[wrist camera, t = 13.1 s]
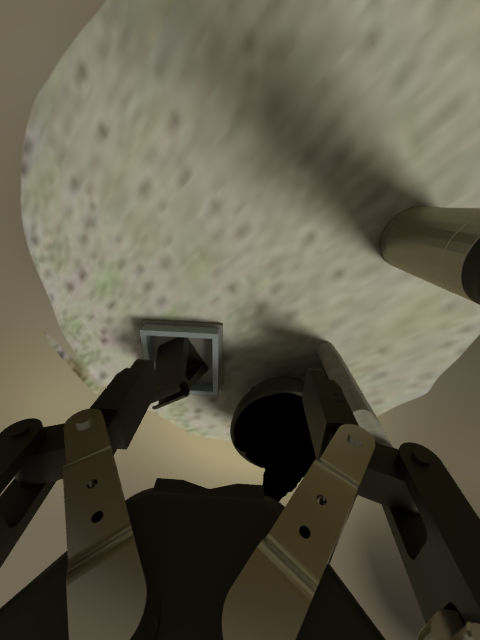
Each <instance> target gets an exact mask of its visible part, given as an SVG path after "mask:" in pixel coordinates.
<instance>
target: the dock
mask: <svg viewBox="0 0 480 640" xmlns="http://www.w3.org/2000/svg"><path fill="white" fill-rule="evenodd" d="M142 326H143V327H142V328H141V329H140V337H141V343H142V350H143V357H144V359H147V360H153V362H154V368H155V366H156V359H157V353H158V347H159V346H160V345H163V344H165V343H167V342H169V341H171V340H173V339H175V338H177V337H188V339H189V340H190V342H191V343H192V345H193V346H194V347H195V349H196V350H197V352H198V353H199V355H200V356H201V358H202V359H203V361H204V362H205V363H206V365H207V366H208V368H209V370H208V371H207V372H206V373H205V374H204V375H203V376H202V377H201V378H200V379H199V380H198V381H197V382H196V383H195V384H194V385H193V386H192V387H191V389H190V393H189V394H191V395H209V396H218V393H219V390H222V355H223V324H220V323H200V322H180V321H161V320H143V321H142Z"/></svg>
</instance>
